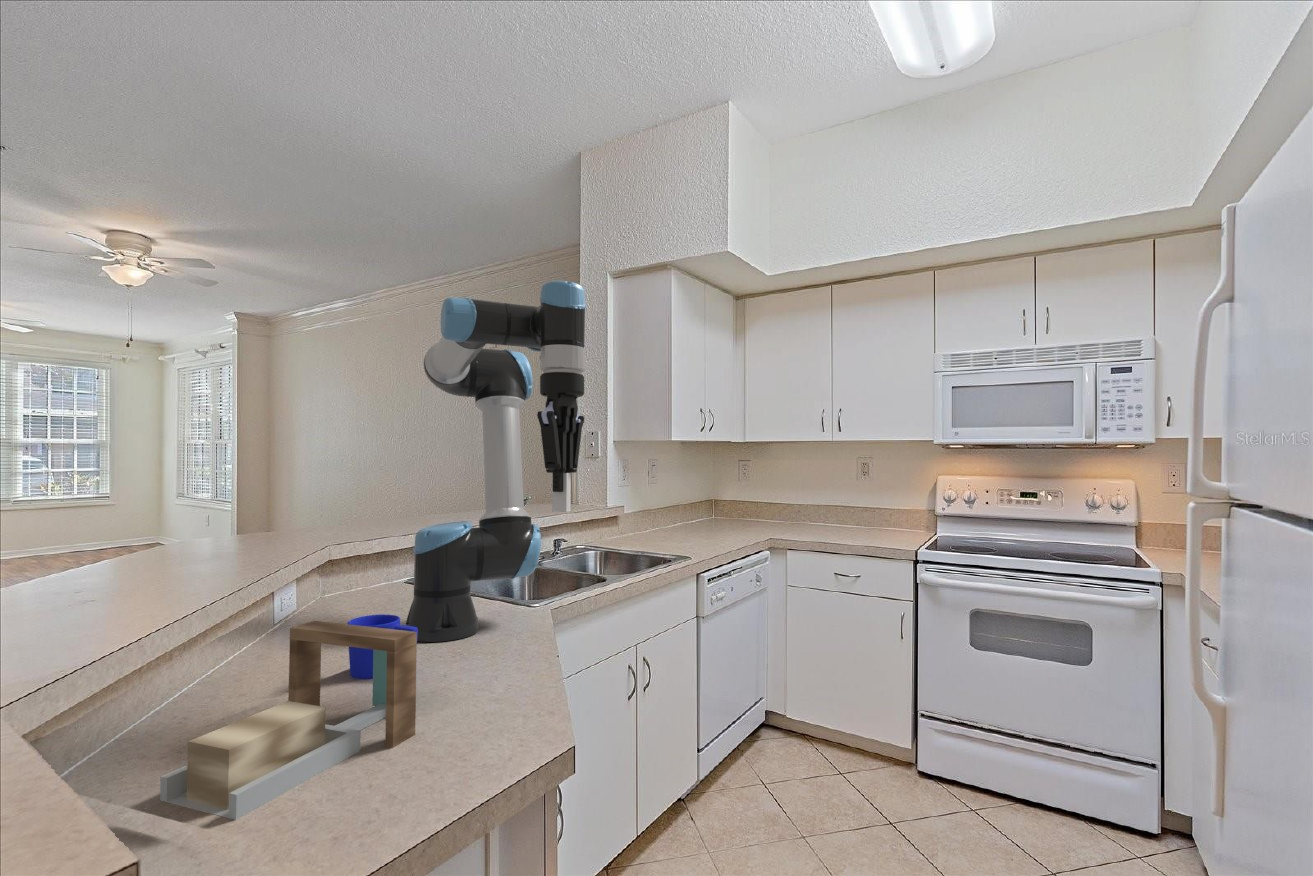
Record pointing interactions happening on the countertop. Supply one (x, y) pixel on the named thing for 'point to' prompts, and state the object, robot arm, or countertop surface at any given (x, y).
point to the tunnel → (393, 641)
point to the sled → (270, 786)
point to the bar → (251, 750)
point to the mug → (364, 657)
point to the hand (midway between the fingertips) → (561, 511)
